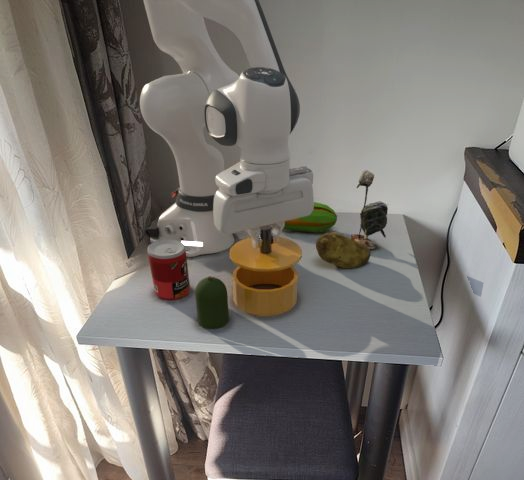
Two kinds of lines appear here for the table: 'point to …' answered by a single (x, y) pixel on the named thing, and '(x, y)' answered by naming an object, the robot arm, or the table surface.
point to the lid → (266, 253)
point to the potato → (342, 250)
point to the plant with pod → (370, 215)
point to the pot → (265, 291)
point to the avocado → (212, 303)
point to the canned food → (169, 269)
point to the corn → (314, 220)
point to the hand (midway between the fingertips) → (265, 244)
